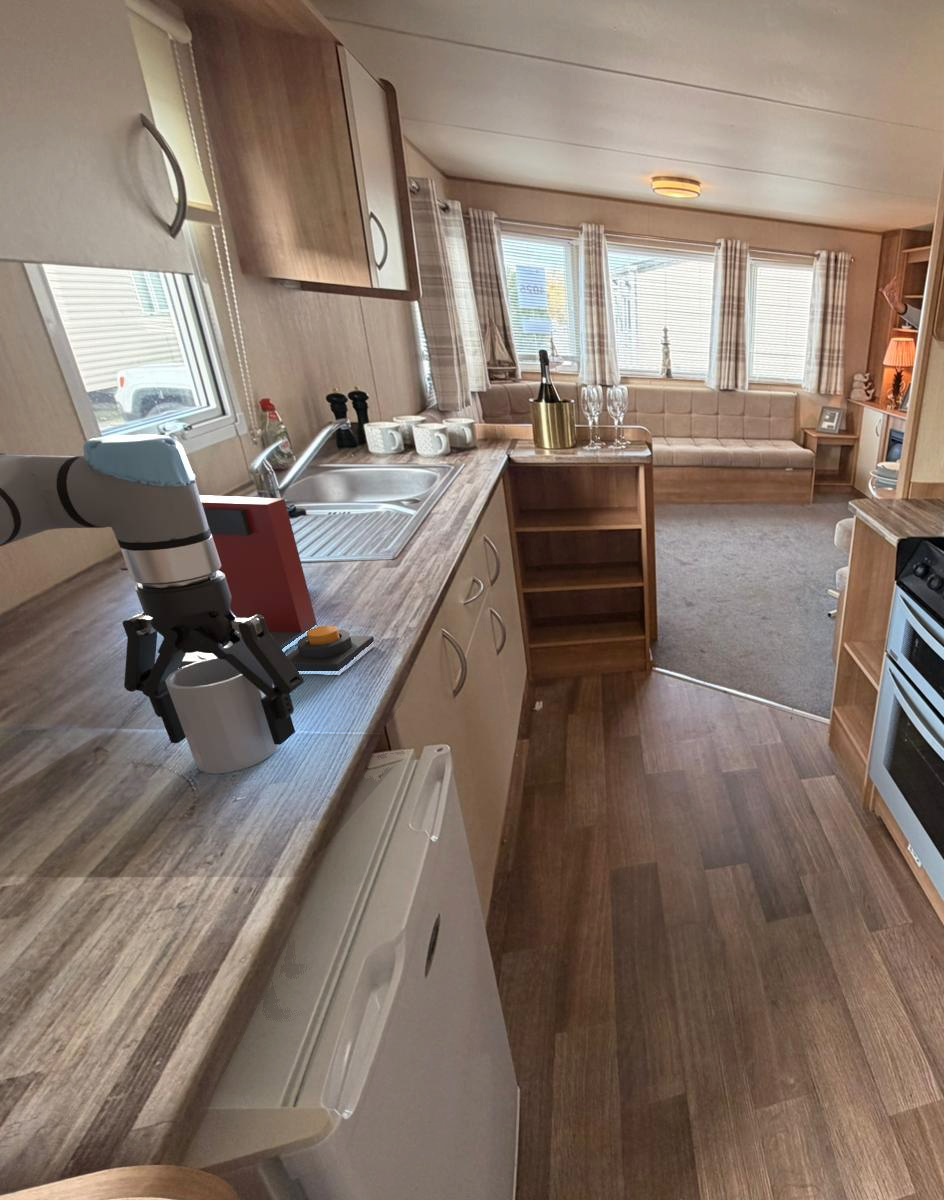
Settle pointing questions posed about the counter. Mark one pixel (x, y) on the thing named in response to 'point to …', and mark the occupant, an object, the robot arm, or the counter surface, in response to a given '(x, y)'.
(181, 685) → the white tumbler
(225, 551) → the coffee machine
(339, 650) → the control block
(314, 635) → the button
